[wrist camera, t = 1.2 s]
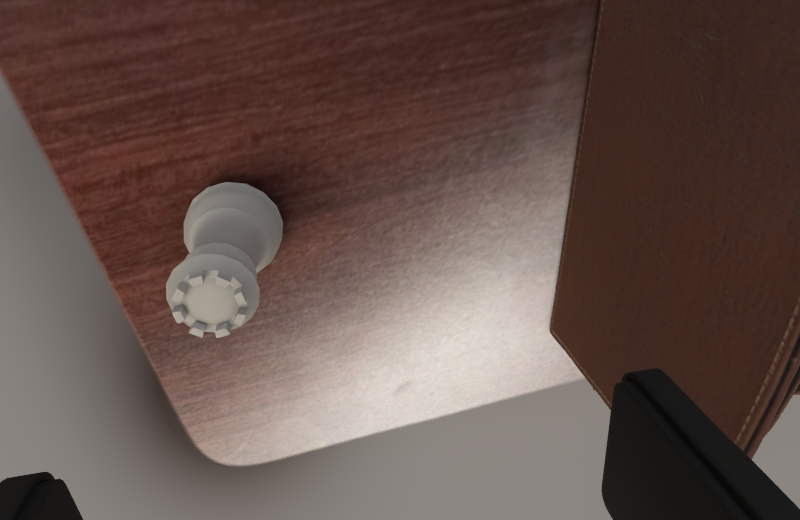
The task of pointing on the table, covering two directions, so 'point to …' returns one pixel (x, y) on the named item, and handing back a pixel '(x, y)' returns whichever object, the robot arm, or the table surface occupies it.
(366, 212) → the table surface
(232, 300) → the rook chess piece
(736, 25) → the letter holder
